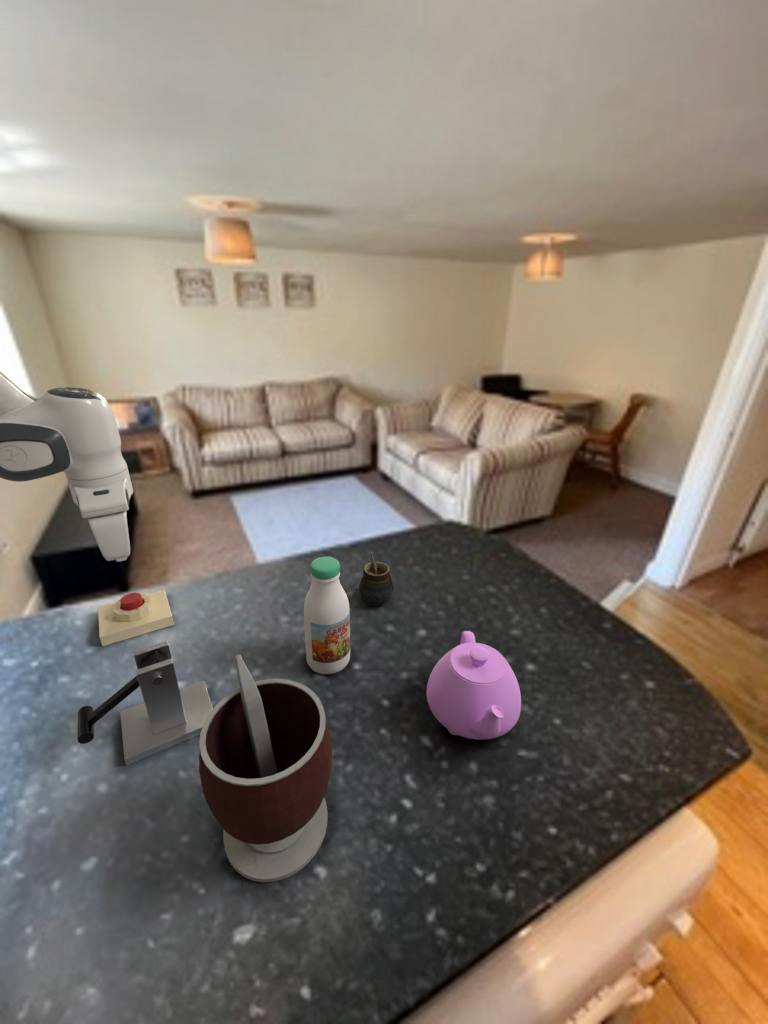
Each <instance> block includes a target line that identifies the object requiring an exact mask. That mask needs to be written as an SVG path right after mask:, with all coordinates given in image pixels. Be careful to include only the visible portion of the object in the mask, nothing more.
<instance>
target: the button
mask: <svg viewBox="0 0 768 1024" xmlns="http://www.w3.org/2000/svg"><path fill="white" fill-rule="evenodd" d="M141 594H142V593H140V592H136V591H135V592H130V593H127V594H124V595H122V596H121V597H120V599H121V600H120V599H119V600H120V602H121V606H122V609H123V610H125V611H131V610H134V609H137V608H139V607H141V606H142V605H143V599H142V595H141Z"/></svg>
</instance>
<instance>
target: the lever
mask: <svg viewBox="0 0 768 1024" xmlns="http://www.w3.org/2000/svg"><path fill="white" fill-rule="evenodd" d="M165 660H168V658H166V657H165V656H163V655H162V654H160V653H159V652H157V651H156V652H155V653H153V654H152V655H151V656H150V657H149V658H147V659H146V660H145V661H144V662H142V663H141V664H140V669H141V668H144V667H147V666H150V665H153V664H156V663H159V662H162V661H165ZM138 688H140V685H139V682H138V678H137V675H135V676H134V677H133V678H132V679H130V681H128V682H127V683H126V684H124V685H123V686H122V687H121V688H119V689H118V690H117V691H116V692H115V693H113V695H111V696H110V697H109V698H108V699H107V700H105V701H104V702H103V703H101V704H100V705H99V706H98V707H96V708H95V709H94V707H93V706H91V705H83V706H82V707H80V708H79V709H78V711H77V743H78V744H80V745H85V744H89V743H91V742H93V740H94V738H95V725H96V723H97V722H99V721H100V720H101V719H102V718H103V717H104V716H106V715H107V714H108V713H110V712H111V711H112V710H113V709H114V708H116V707H117V706H118V705H119V704H120V703H121V702H123V701H124V700H125V699H127V698H128V697H129V696H130V695H131V694H133V692H135V691H136V690H137V689H138Z"/></svg>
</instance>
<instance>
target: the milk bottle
mask: <svg viewBox="0 0 768 1024" xmlns="http://www.w3.org/2000/svg"><path fill="white" fill-rule="evenodd" d="M340 571H341V564H340V561H339V560H338V559H336V558H335V557H332V556H321V557H317V558H315V559H313V560H312V562H311V563H310V577H311V579H312V581H311V584H310V588H309V590H308V592H307V594H306V596H305V599H304V604H303V626H304V627H303V629H304V644H305V658H306V663H307V665H308V666H309V669H311V670H312V671H313V672H316V673H317V674H320V675H332V674H336V673H338V672H341V671H342V670H344V669H345V668H346V667H347V666H348V664H349V662H350V660H351V612H350V611H351V610H350V602H349V597H348V596H347V592H346V591H345V590H344V588H343V586H342V584H341V581H340V575H341V572H340Z"/></svg>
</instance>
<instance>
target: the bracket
mask: <svg viewBox="0 0 768 1024" xmlns="http://www.w3.org/2000/svg"><path fill="white" fill-rule="evenodd" d="M156 651H157V652H159V653H160V654H162V655H163V656H165V657H166V658H168V660H165V661H162V662H159V663H156V664H153V665H150V666H147V667H144V668H141V669H140V664H141V663H142V662H144V661H145V660H146V659H147V658H149V657H150V656H151V655H152V654H153V653H155V652H156ZM132 653H133V659H134V662H135V665H136V668H137V669H136V670H135V673H136V676H137V678H138V682H139V685H140V686H139V688H140V691H141V696H142V699H143V702H141V703H139V704H136V705H133V706H131V707H127V708H125V709H123V710H120V711H119V715H120V716H119V717H120V726H121V736H122V746H123V747H122V748H123V756H124V757H123V758H124V763H125V765H126V766H129V765H132V764H134V763H136V762H139V761H141V760H143V759H146V758H148V757H150V756H153V755H156V754H158V753H160V752H162V751H165V750H168V749H169V748H172V747H174V746H177V745H180V744H181V743H184V742H186V741H189V740H191V739H193V738H197V737H198V736H200V733H201V730H202V727H203V724H204V722H205V720H206V718H207V717H208V715H209V713H210V712H211V711H212V709H213V708H214V707H213V705H212V704H213V703H212V701H211V698H210V695H209V692H208V689H207V685H206V681H205V680H201V681H199V682H196V683H193V684H190V685H188V686H185V687H182V688H180V687H179V682H178V679H177V674H176V669H175V665H174V661H173V657H172V654H171V649H170V645H169V640H166V641H165V640H164V641H162V642H159V643H155V644H152V645H149V646H146V647H142V648H140V649H136V650H133V652H132Z"/></svg>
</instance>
